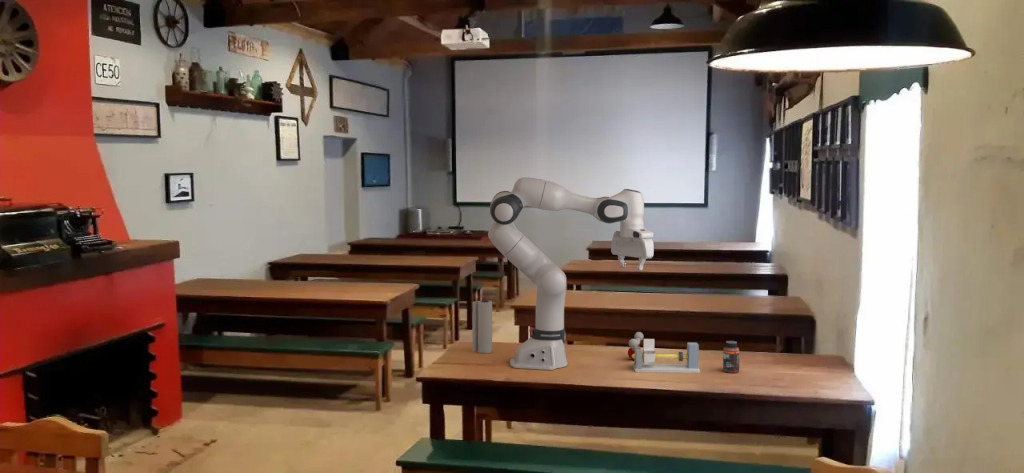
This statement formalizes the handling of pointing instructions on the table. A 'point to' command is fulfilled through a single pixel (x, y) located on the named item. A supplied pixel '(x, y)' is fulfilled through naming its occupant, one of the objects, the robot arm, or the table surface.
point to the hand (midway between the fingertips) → (631, 268)
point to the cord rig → (670, 368)
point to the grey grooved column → (482, 326)
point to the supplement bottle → (731, 357)
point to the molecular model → (634, 344)
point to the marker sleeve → (649, 352)
